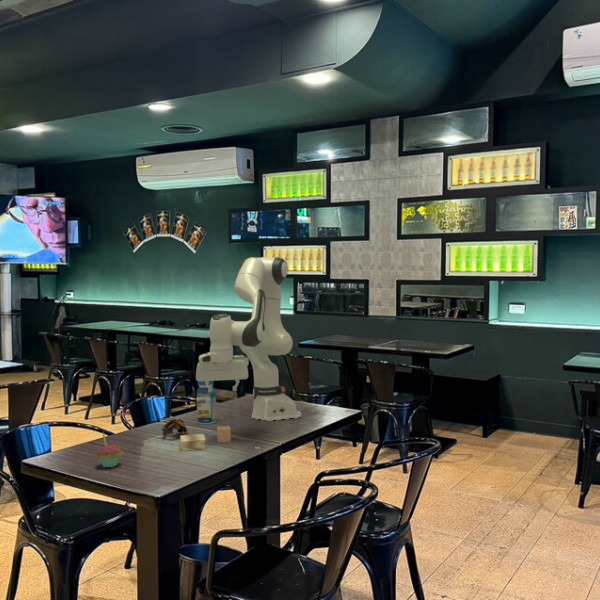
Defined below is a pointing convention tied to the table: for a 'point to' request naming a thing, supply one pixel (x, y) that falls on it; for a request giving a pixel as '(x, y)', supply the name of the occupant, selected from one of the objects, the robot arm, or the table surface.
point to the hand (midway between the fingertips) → (222, 391)
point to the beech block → (192, 442)
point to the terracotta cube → (224, 434)
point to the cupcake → (109, 454)
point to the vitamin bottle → (206, 403)
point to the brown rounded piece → (174, 427)
